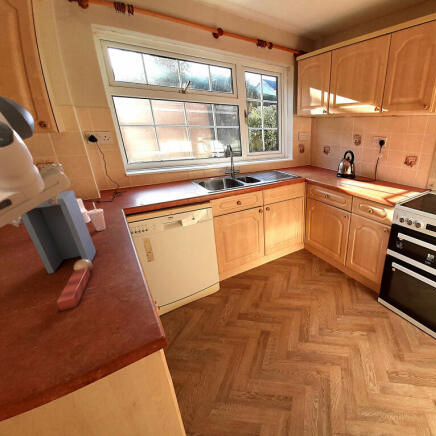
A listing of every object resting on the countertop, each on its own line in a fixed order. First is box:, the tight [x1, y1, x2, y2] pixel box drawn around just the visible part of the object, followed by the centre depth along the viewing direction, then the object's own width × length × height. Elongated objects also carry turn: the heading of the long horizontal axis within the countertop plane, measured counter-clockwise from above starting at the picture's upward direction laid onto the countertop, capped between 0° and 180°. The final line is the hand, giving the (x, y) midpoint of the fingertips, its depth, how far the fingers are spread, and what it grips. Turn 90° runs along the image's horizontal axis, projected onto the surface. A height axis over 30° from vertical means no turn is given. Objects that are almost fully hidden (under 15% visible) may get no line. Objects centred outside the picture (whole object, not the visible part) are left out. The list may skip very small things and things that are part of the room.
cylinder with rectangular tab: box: [76, 198, 92, 224], centre depth 129 cm, size 9×9×12 cm
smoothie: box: [87, 201, 107, 232], centre depth 119 cm, size 6×6×14 cm
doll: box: [56, 258, 93, 312], centre depth 78 cm, size 23×5×5 cm, turn 28°
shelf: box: [20, 190, 97, 275], centre depth 88 cm, size 12×12×26 cm
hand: (36, 213), depth 69 cm, fingers open, 8 cm apart
